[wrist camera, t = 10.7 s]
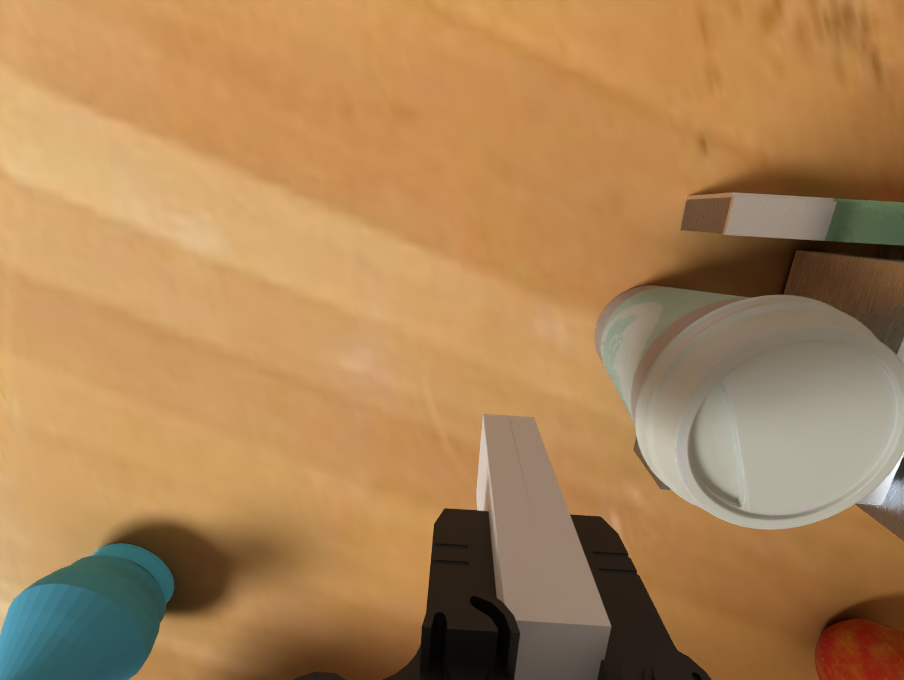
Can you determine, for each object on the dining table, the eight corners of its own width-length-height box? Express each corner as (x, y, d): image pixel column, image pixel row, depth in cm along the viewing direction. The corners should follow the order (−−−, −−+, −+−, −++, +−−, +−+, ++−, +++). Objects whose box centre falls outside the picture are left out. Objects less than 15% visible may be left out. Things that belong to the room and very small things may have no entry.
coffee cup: (599, 245, 23) (723, 276, 12) (742, 281, 24) (997, 345, 12) (553, 380, 26) (620, 513, 15) (683, 411, 26) (849, 566, 15)
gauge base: (633, 452, 27) (722, 582, 18) (687, 195, 22) (850, 183, 13) (849, 467, 27) (1057, 607, 17) (950, 210, 22) (1314, 210, 13)
